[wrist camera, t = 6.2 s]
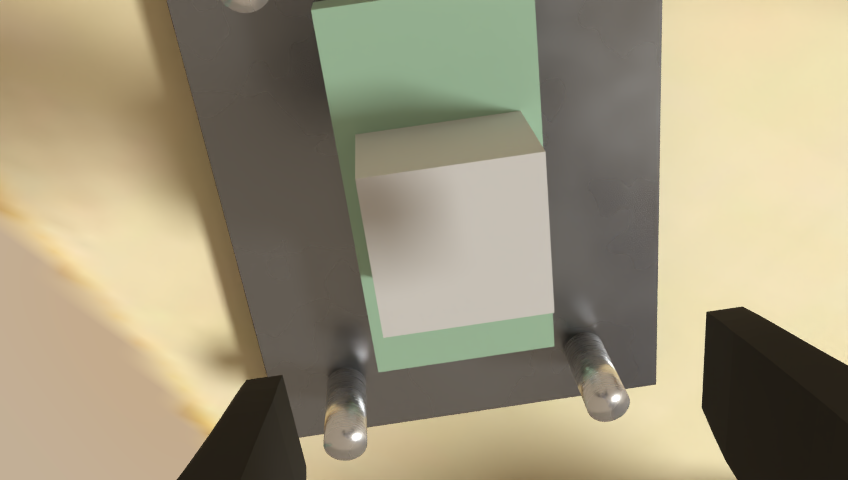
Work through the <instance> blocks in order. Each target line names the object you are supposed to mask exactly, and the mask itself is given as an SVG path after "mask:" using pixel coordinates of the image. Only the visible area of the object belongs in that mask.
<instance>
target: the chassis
mask: <svg viewBox="0 0 848 480" xmlns="http://www.w3.org/2000/svg"><path fill="white" fill-rule="evenodd" d="M317 1H324V0H167V3H168V7H169V11H170V15H171V18H172V22H173V26H174V29H175V33H176V37H177V41H178V44H179V48H180V52H181V56H182V59H183V63H184V67H185V71H186V74H187V78H188V82H189V85H190V89H191V93H192V97H193V100H194V104H195V108H196V112H197V115H198V119H199V123H200V126H201V130H202V134H203V138H204V141H205V145H206V149H207V153H208V156H209V160H210V164H211V168H212V171H213V175H214V179H215V182H216V186H217V190H218V194H219V197H220V201H221V205H222V209H223V212H224V216H225V220H226V223H227V227H228V231H229V235H230V238H231V242H232V246H233V250H234V253H235V257H236V261H237V264H238V268H239V272H240V276H241V279H242V283H243V287H244V291H245V294H246V298H247V302H248V306H249V309H250V313H251V317H252V320H253V324H254V328H255V332H256V335H257V339H258V343H259V347H260V350H261V354H262V358H263V361H264V365H265V369H266V373H267V376H268V377H271V376H278V375H283V378H284V382H285V386H286V390H287V394H288V398H289V402H290V406H291V409H292V413H293V417H294V421H295V425H296V429H297V433H298V437H306V436H313V435H319V434H324V449H325V451H326V452H327V454H328V455H330V456H331V457H333V458H335V459H338V460H352V459H355V458H357V457H359V456H360V455H362V454H363V453H364V451H365V450H366V447H367V427H373V426H380V425H386V424H393V423H400V422H407V421H413V420H420V419H427V418H433V417H440V416H447V415H454V414H460V413H467V412H474V411H480V410H487V409H494V408H501V407H507V406H514V405H521V404H527V403H534V402H541V401H548V400H554V399H561V398H568V397H574V396H582V398H583V401H584V403H585V406H586V408H587V411H588V413H589V415H590V416H591V417H592V418H593V419H595V420H598V421H602V422H607V421H613V420H615V419H618V418H619V417H621V416H622V415H623V414H624V413H625V412H626V411H627V409H628V407H629V404H630V399H629V396H628V394H627V392H626V390H625V389H628V388H635V387H642V386H648V385H655V384H656V350H657V288H658V226H659V164H660V102H661V40H662V0H535V11H536V29H537V46H538V64H539V82H540V99H541V117H542V134H543V148H544V150H545V151H546V169H547V187H548V205H549V223H550V241H551V259H552V277H553V295H554V313H553V328H554V347H547V348H541V349H534V350H527V351H520V352H513V353H507V354H500V355H493V356H486V357H480V358H473V359H466V360H459V361H453V362H446V363H439V364H432V365H426V366H419V367H412V368H405V369H399V370H392V371H385V372H378V368H377V362H376V357H375V352H374V346H373V341H372V335H371V330H370V325H369V319H368V314H367V309H366V303H365V298H364V293H363V287H362V282H361V276H360V271H359V266H358V260H357V255H356V250H355V244H354V239H353V234H352V228H351V223H350V217H349V212H348V207H347V201H346V196H345V191H344V185H343V180H342V174H341V169H340V164H339V158H338V153H337V148H336V142H335V137H334V132H333V126H332V121H331V115H330V110H329V105H328V99H327V94H326V89H325V83H324V78H323V73H322V67H321V62H320V56H319V51H318V46H317V40H316V35H315V30H314V24H313V19H312V14H311V8H312V4H313V2H317Z"/></svg>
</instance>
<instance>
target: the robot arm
mask: <svg viewBox="0 0 848 480" xmlns="http://www.w3.org/2000/svg"><path fill="white" fill-rule="evenodd" d="M702 409H703V412H704V414H705V416H706V418H707V421H708V423H709V425H710V428H711V430H712V432H713V435H714V437H715V439H716V441H717V443H718V445H719V448H720V450H721V452H722V454H723V456H724V458H725V460H726V462H727V464H728V465H729V467H730V469H731V470H732V472H733V474H734V475H735V477H736V478H737V480H848V365H846V364H844V363H842V362H841V361H839V360H837V359H835V358H833V357H831V356H830V355H828V354H826V353H824V352H823V351H821V350H819V349H817V348H815V347H814V346H812V345H810V344H808V343H807V342H805V341H803V340H801V339H800V338H798V337H796V336H794V335H793V334H791V333H789V332H788V331H786V330H784V329H782V328H781V327H779V326H777V325H775V324H774V323H772V322H770V321H768V320H767V319H765V318H763V317H761V316H759V315H758V314H756V313H754V312H752V311H750V310H748V309H746V308H744V307H737V308H730V309H723V310H716V311H710V312H707V313H706V333H705V353H704V373H703V394H702ZM177 480H306V464H305V460H304V456H303V452H302V448H301V444H300V441H299V437H298V433H297V429H296V425H295V421H294V417H293V413H292V409H291V406H290V402H289V398H288V394H287V390H286V386H285V382H284V378H283V375H278V376H271V377H264V378H257V379H251V380H246V382H245V383H244V384H243V385H242V387H241V388H240V390H239V391H238V393H237V394H236V395H235V397H234V399H233V400H232V402H231V403H230V405H229V406H228V408H227V409H226V411H225V412H224V414H223V415H222V417H221V418H220V420H219V421H218V423H217V424H216V426H215V427H214V429H213V430H212V432H211V433H210V435H209V436H208V437H207V439H206V440H205V442H204V443H203V444H202V446H201V447H200V449H199V450H198V451H197V453H196V454H195V456H194V457H193V459H192V460H191V461H190V463H189V464H188V465H187V467H186V468H185V470H184V471H183V472H182V474H181V475H180V476H179V478H178V479H177Z"/></svg>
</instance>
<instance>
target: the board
mask: <svg viewBox="0 0 848 480" xmlns="http://www.w3.org/2000/svg"><path fill="white" fill-rule="evenodd" d="M311 14H312V19H313V24H314V30H315V35H316V40H317V46H318V51H319V56H320V62H321V67H322V73H323V78H324V83H325V89H326V94H327V99H328V105H329V110H330V115H331V121H332V126H333V132H334V137H335V142H336V148H337V153H338V158H339V164H340V169H341V174H342V180H343V185H344V191H345V196H346V201H347V207H348V212H349V217H350V223H351V228H352V234H353V239H354V244H355V250H356V255H357V260H358V266H359V271H360V276H361V282H362V287H363V293H364V298H365V303H366V309H367V314H368V319H369V325H370V330H371V335H372V341H373V346H374V352H375V357H376V362H377V368H378V372H385V371H392V370H399V369H405V368H412V367H419V366H426V365H432V364H439V363H446V362H453V361H459V360H466V359H473V358H480V357H486V356H493V355H500V354H507V353H513V352H520V351H527V350H534V349H541V348H547V347H554V328H553V313H554V295H553V277H552V259H551V241H550V223H549V205H548V187H547V169H546V151H545V150H544V148H543V134H542V117H541V99H540V82H539V64H538V46H537V29H536V11H535V0H324V1H317V2H313V4H312V8H311Z"/></svg>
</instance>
